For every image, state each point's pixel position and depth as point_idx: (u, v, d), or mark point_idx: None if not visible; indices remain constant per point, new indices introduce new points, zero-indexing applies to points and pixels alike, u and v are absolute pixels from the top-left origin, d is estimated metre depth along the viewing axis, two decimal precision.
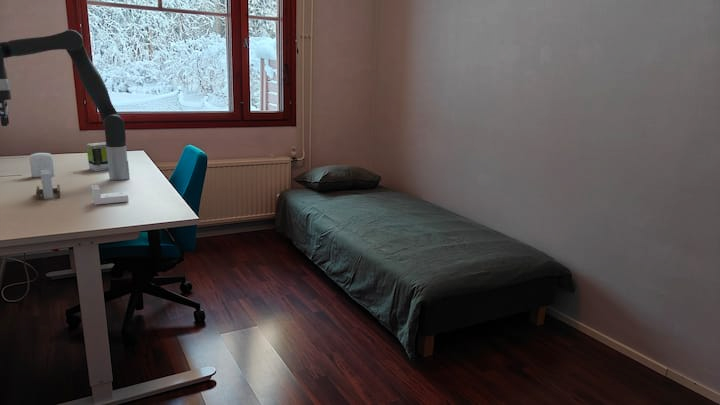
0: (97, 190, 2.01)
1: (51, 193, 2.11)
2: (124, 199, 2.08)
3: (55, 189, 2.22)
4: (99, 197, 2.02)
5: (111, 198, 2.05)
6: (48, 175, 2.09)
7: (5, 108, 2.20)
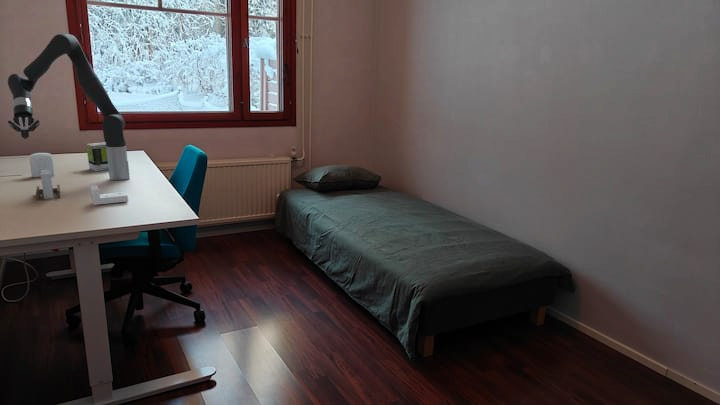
0: (96, 190, 2.01)
1: (51, 193, 2.11)
2: (123, 199, 2.07)
3: (55, 189, 2.22)
4: (98, 197, 2.02)
5: (110, 198, 2.05)
6: (48, 175, 2.09)
7: None
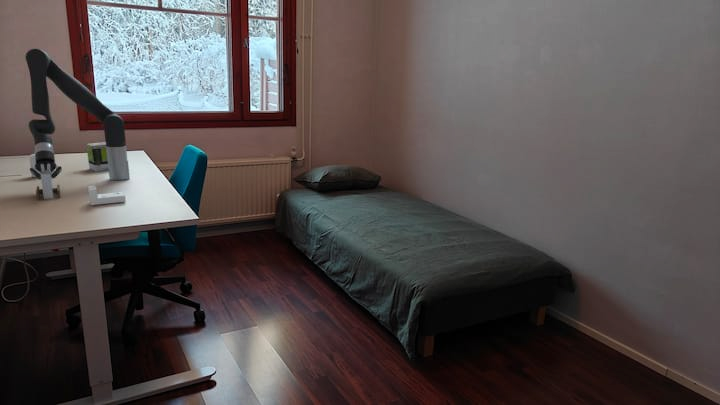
0: (94, 190, 2.01)
1: (51, 193, 2.11)
2: (121, 199, 2.07)
3: (55, 189, 2.22)
4: (96, 197, 2.02)
5: (108, 198, 2.04)
6: (48, 175, 2.09)
7: (41, 169, 2.20)
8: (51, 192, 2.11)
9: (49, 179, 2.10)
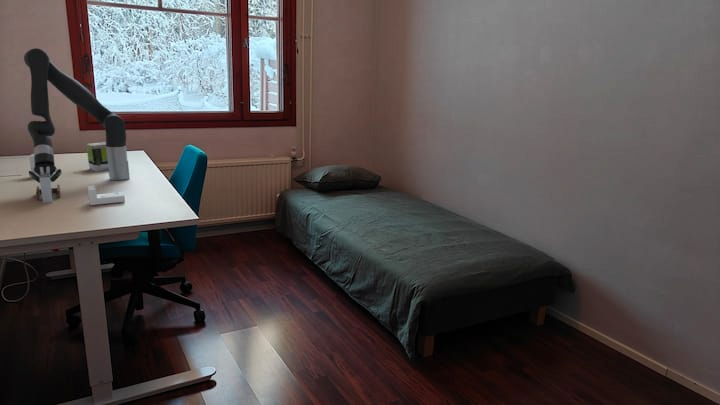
0: (93, 190, 2.00)
1: (50, 197, 2.05)
2: (120, 199, 2.07)
3: (55, 189, 2.22)
4: (95, 197, 2.01)
5: (107, 198, 2.04)
6: (47, 179, 2.03)
7: (40, 172, 2.14)
8: (50, 196, 2.05)
9: (48, 183, 2.03)
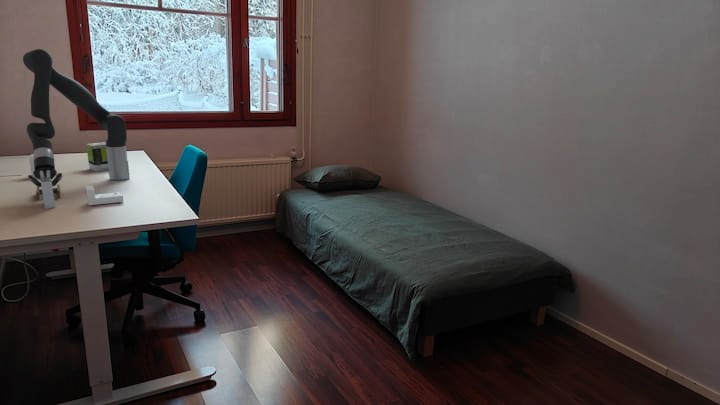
0: (92, 190, 2.00)
1: (52, 202, 1.98)
2: (118, 199, 2.07)
3: (55, 189, 2.22)
4: (94, 197, 2.01)
5: (106, 198, 2.04)
6: (49, 183, 1.95)
7: (40, 176, 2.06)
8: (53, 201, 1.98)
9: (50, 187, 1.96)
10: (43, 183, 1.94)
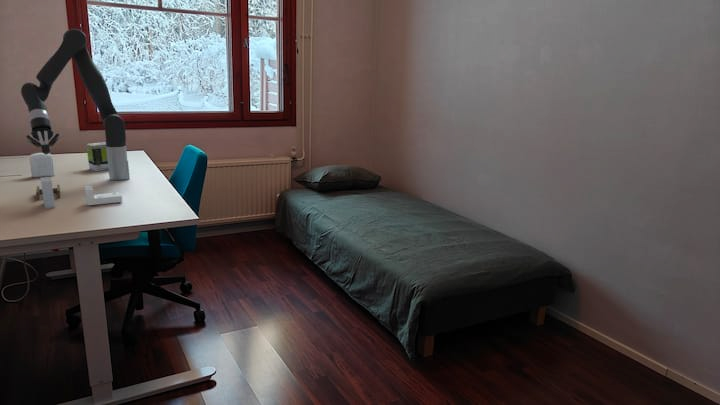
0: (90, 191, 2.00)
1: (53, 202, 1.98)
2: (117, 199, 2.06)
3: (55, 189, 2.22)
4: (92, 198, 2.01)
5: (104, 199, 2.04)
6: (49, 183, 1.95)
7: (38, 137, 2.14)
8: (53, 201, 1.98)
9: (51, 187, 1.96)
10: (43, 183, 1.94)
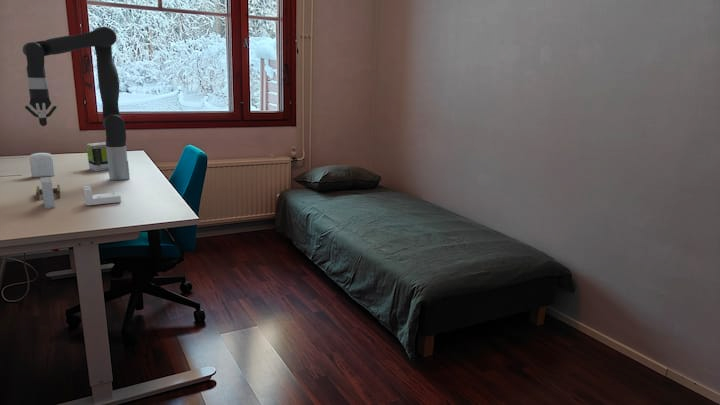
0: (89, 191, 2.00)
1: (53, 202, 1.98)
2: (116, 200, 2.06)
3: (55, 189, 2.22)
4: (91, 198, 2.01)
5: (103, 199, 2.03)
6: (49, 183, 1.95)
7: (36, 108, 2.22)
8: (53, 201, 1.98)
9: (50, 187, 1.96)
10: (43, 183, 1.94)
